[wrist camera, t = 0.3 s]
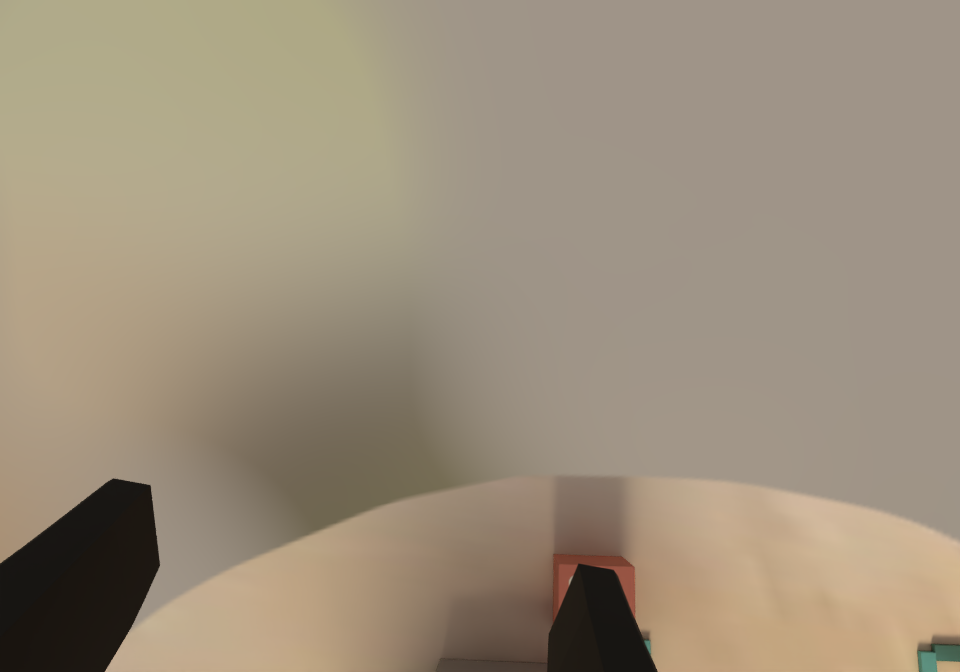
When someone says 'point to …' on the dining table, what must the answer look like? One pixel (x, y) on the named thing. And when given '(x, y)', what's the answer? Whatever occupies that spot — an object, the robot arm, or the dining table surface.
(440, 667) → the box
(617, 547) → the dining table surface
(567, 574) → the die
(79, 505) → the robot arm
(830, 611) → the dining table surface
